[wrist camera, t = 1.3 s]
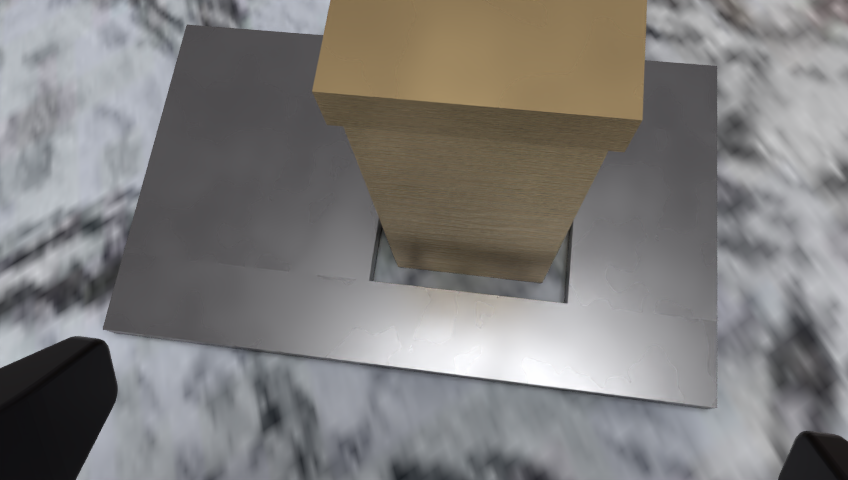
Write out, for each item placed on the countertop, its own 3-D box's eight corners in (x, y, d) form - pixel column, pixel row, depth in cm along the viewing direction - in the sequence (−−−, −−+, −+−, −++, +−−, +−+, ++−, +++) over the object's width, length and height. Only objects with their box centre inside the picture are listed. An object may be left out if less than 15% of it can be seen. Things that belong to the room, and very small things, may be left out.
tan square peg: (547, 289, 22) (642, 119, 10) (391, 271, 22) (312, 90, 11) (558, 145, 23) (652, -145, 12) (412, 132, 24) (362, -159, 12)
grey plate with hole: (707, 408, 20) (717, 407, 20) (115, 332, 22) (102, 329, 21) (708, 78, 24) (716, 66, 23) (195, 37, 26) (186, 24, 25)
